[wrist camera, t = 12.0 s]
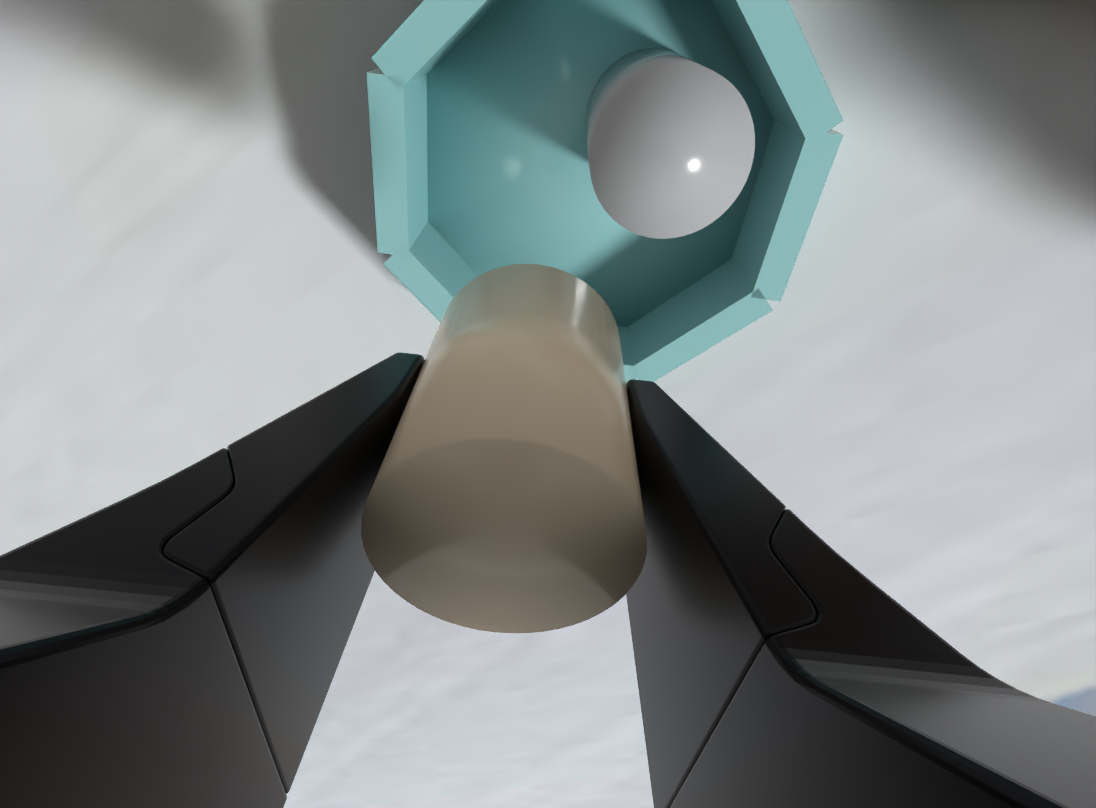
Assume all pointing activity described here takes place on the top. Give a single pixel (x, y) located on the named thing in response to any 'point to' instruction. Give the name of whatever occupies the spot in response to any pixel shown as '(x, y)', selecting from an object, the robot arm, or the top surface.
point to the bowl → (563, 165)
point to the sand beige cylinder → (513, 462)
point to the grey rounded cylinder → (667, 143)
